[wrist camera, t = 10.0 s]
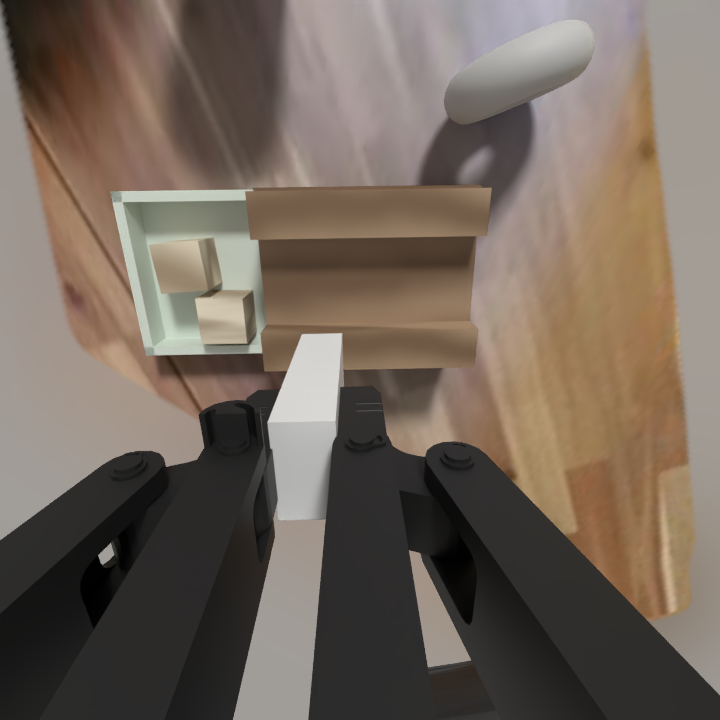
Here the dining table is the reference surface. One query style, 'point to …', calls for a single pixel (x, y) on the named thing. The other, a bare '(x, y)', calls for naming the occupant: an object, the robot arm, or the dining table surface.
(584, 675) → the robot arm
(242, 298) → the beige wooden cube
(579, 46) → the donut
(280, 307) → the slot board
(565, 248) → the dining table surface
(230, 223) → the tray
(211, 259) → the tan wooden cube
